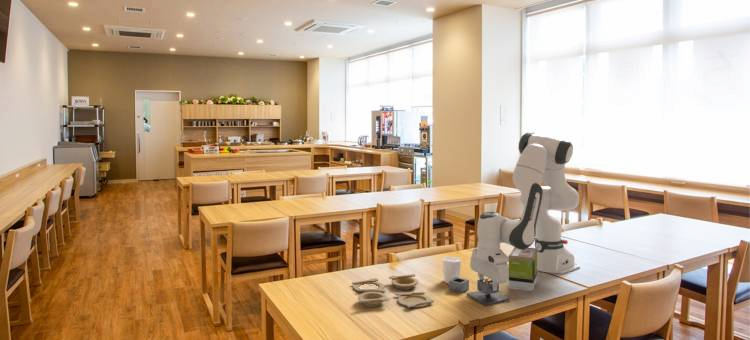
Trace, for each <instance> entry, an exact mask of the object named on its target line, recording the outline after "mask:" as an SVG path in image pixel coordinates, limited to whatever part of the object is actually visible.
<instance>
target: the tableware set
mask: <svg viewBox="0 0 750 340" xmlns="http://www.w3.org/2000/svg"><path fill="white" fill-rule="evenodd" d="M415 277H416V274H415V273H412V274H411V273H410V274H404V275H389V276H388V279H389V280H390V281H391V282H390V283H391V284H392V285H393V286H396V288H397V289H399V290H403V292H402V291H401V292H395V293H394V294H395V296H397V297H398V298H397V302H398V304H400V305H401V306H404V307H406V308H423V307H427V306H429V305H431V304H433V303H434V302H435V300H434V299H432V298H431V296H430V295H426V292H425V291H408V292H407V291H406V290H411V289H413V288H414V287H415V286H418V284H419V280H418V279H417V278H415ZM364 284H374V285H376V286H378V288H377V287H376V286H375V287H376V288H377V289H360V288H359V287H360V286H361V285H364ZM351 285H352V287H353V290H355V291H356V292H359V294H358V296H357V299H358V303H362V304H363V305H364V306H366V307H368V308H369V307H370V308H374V307H375V308H376V307H379V306H381V304H382V303H383V302H387V301H390V297H388V296H387V295H386V294H385V293H386V292H387V291H386V290H387V289H385V284H384V283H382V282H379V279H378V278H376V277H374V278H369V279H367V280H359V281H353V282H351ZM374 285H373V286H374ZM404 290H405V291H406V292H404Z"/></svg>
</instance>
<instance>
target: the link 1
mask: <svg viewBox="0 0 750 340" xmlns="http://www.w3.org/2000/svg"><path fill="white" fill-rule="evenodd" d="M468 290H470V280H469V279H466V278H463V277H462V278H461V277H460V278H458V277H456V278H454V279H452V280H450V281H449V283H448V291H451V292H454V293H458V294H463V293H465V292H467V291H468Z"/></svg>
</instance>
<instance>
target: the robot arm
mask: <svg viewBox="0 0 750 340" xmlns="http://www.w3.org/2000/svg"><path fill="white" fill-rule="evenodd" d="M517 148H518V151H519V154H520V156H519V158H518V159H517V163H516V165H515V168H514V169H513V173H512V183H513V185H514V187H516V189H517V190H518V191H519V192H520V197H519V198H520V199H519V200H520V203H521V205H522V206H523V209H522V214H521V218H520V220H514V219H512V218H508V217H505V216H502V215H501V214H499V213H498V212H496V211H486V212H485V211H484V212H483V213H481V214H480V215H479V217H478V220H477V228H476V229H477V232H476V233H477V234H476V235H477V238H478V239H477V244H476V246H477V248H476V247H475V248H473V250H472V253H471V256H470V265H469V266H470V270H471V271H473V272H476V273H477V277H478V280H481V279H485V277H486V278H490V279H492V280H493V285H491V289H492V290H493V291H496V290H497V286H498V284H499V285H500V284H504V283H508V282H509V255H507V254H506V253H505V252H504V251H503V250H502V249H501V243H504V244H506V245H510V246H512V247H513V248H514V247H516V248H518V249H520V250H524V249H527V248H531V246H532V245H533V244H534V248H537V272H543V273H551V274H560V275H564V274H566V273H570V272H571V271H575V270H578V269H580V268H581V265H579V264H578V263H576V262H575V256H574V254H573V252H571V251H570V250H568V249H567V248H566V247H565V246H564V245H568V243H569V241H568V240H567V239H562V224H561V222H560V220H558V219H557V218H555V217H554V216H551V215H550V214H549V213H548V211H571V210H575V209H576V208H577V207H578V206H579V203H580V194H579V192H578V191H577V190H576V188H574V187H572V186H571V185H570V184H569V183H568V182H567V180H566V176H565V174H566V171H565V170H566V164H568V162H570V161H571V158H572V157H573V153H574V146H573V143H572V142H571V141H569V140H567V139H564V138H563V139H562V138H559V137H556V136H553V135H550V134H548V135H547V134H541V133H535V132H526V133H524V134H523V135H521V136H520V139H519V141H518V147H517ZM542 184H544V185H542Z"/></svg>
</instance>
